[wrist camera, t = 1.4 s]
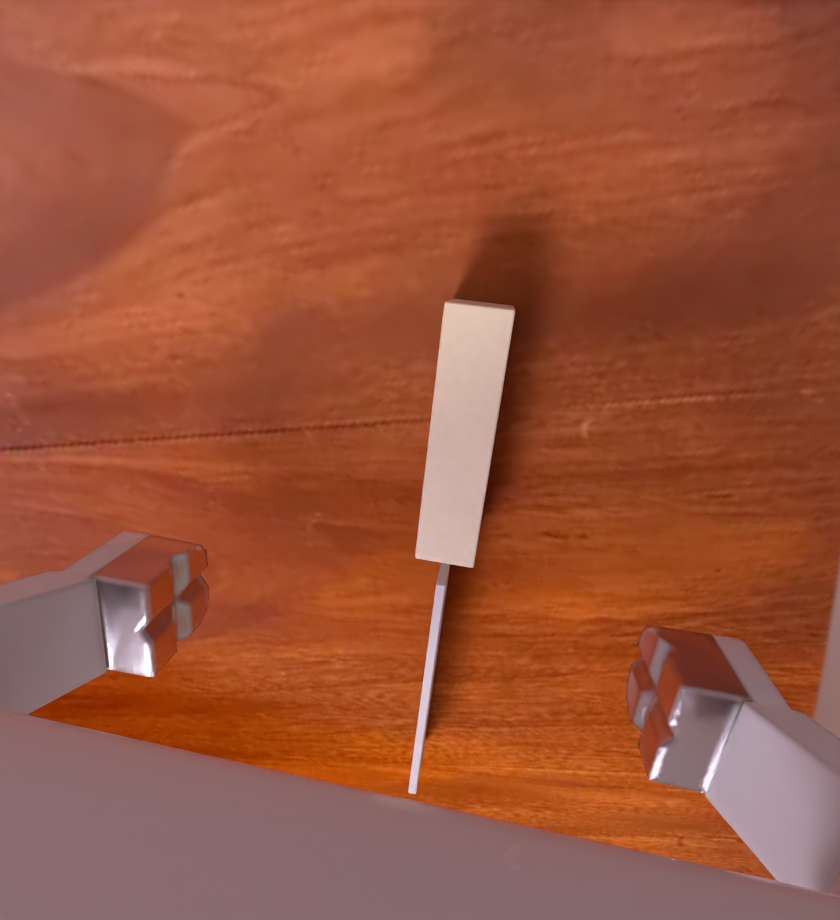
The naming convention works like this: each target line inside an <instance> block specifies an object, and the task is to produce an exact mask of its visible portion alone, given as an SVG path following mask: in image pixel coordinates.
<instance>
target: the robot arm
mask: <svg viewBox="0 0 840 920" xmlns="http://www.w3.org/2000/svg"><path fill="white" fill-rule="evenodd" d="M207 566H208V560H207V550H206V549H205V548H204V547H203V546H202V545H199V544H194V543H189V542H184V541H179V540H174V539H169V538H164V537H159V536H152V535H150V534H144V533H138V532H132V531H129V532H122V533H120V534H118V535H117V536H115V537H114V538H112V539H111V540H109V541H108V542H106V543H105V544H103V545H101V546H100V547H98V548H97V549H95V550H94V551H92V552H91V553H89V554H87V555H86V556H84V557H83V558H81V559H80V560H78V561H77V562H75V563H74V564H72V565H70V566H69V567H67V568H66V569H64V570H63V571H61V572H56V571H49V572H45V573H41V574H38V575H34V576H30V577H26V578H22V579H18V580H14V581H10V582H7V583H3V584H0V920H840V738H838V737H837V736H835V735H834V734H833V733H831V732H830V731H828V730H827V729H826V728H824V727H823V726H821V725H820V724H818V723H817V722H816V721H814V720H813V719H811V718H810V717H808V716H807V715H805V714H804V713H803V712H799V711H794V710H791V709H790V707H789V706H788V704H787V703H786V701H785V700H784V699H783V697H782V696H781V694H780V693H779V691H778V690H777V688H776V687H775V686H774V684H773V683H772V681H771V680H770V678H769V677H768V675H767V674H766V673H765V671H764V670H763V668H762V667H761V665H760V664H759V662H758V661H757V659H756V658H755V657H754V655H753V654H752V652H751V651H750V649H749V648H748V646H747V645H746V644H745V642H743V641H741V640H740V639H738V638H734V637H727V636H720V635H713V634H703V633H697V632H691V631H684V630H678V629H671V628H665V627H658V626H652V625H646V626H645V627H644V629H643V630H642V632H641V635H640V638H639V641H638V646H639V649H640V652H641V654H642V657H641V658H640V659H638V660H637V661H636V662H634V663H633V664H631V667H630V671H629V675H628V679H627V689H626V701H627V709H628V712H629V716H630V720H631V722H632V723H633V724H634V725H635V726H636V727H637V728H638V729H639V730H640V731H641V735H640V738H639V741H638V746H639V750H640V753H641V756H642V759H643V763H644V766H645V769H646V772H647V776H648V779H649V780H651V781H655V782H660V783H664V784H668V785H672V786H677V787H681V788H685V789H689V790H694V791H698V792H702V793H706V795H705V796H706V798H707V799H708V800H709V801H710V802H711V803H712V805H713V806H714V807H715V808H716V809H717V810H718V812H719V813H720V814H721V815H722V816H723V818H724V819H725V820H726V821H727V822H728V823H729V825H730V826H731V827H732V828H733V829H734V830H735V832H736V833H737V834H738V835H739V836H740V837H741V839H742V840H743V841H744V842H745V843H746V845H747V846H748V847H749V848H750V849H751V850H752V852H753V853H754V854H755V855H756V856H757V857H758V859H759V860H760V861H761V862H762V863H763V865H764V866H765V867H766V868H767V869H768V870H769V872H770V873H771V874H772V875H773V876H774V877H775V879H776V880H777V881H775V880H770V879H766V878H761V877H757V876H752V875H747V874H743V873H738V872H733V871H729V870H724V869H720V868H715V867H710V866H706V865H701V864H696V863H692V862H687V861H683V860H678V859H673V858H669V857H664V856H660V855H655V854H651V853H646V852H642V851H638V850H633V849H629V848H624V847H620V846H615V845H611V844H606V843H602V842H597V841H593V840H588V839H584V838H579V837H575V836H570V835H566V834H561V833H557V832H552V831H548V830H543V829H539V828H535V827H530V826H526V825H521V824H517V823H512V822H508V821H503V820H499V819H494V818H490V817H485V816H481V815H476V814H472V813H467V812H463V811H458V810H454V809H449V808H445V807H440V806H436V805H432V804H427V803H422V802H418V801H413V800H409V799H404V798H400V797H395V796H391V795H386V794H382V793H377V792H372V791H368V790H363V789H359V788H354V787H350V786H345V785H341V784H336V783H332V782H327V781H322V780H318V779H313V778H309V777H304V776H300V775H295V774H291V773H286V772H282V771H277V770H272V769H268V768H263V767H259V766H254V765H250V764H245V763H241V762H236V761H232V760H227V759H222V758H218V757H213V756H209V755H204V754H200V753H195V752H191V751H186V750H182V749H177V748H173V747H168V746H164V745H159V744H155V743H150V742H146V741H141V740H137V739H132V738H128V737H123V736H119V735H114V734H110V733H105V732H101V731H96V730H92V729H87V728H82V727H78V726H73V725H69V724H64V723H60V722H55V721H51V720H46V719H42V718H37V717H33V716H28V715H27V714H28V713H30V712H32V711H34V710H36V709H38V708H40V707H42V706H44V705H45V704H47V703H49V702H51V701H53V700H55V699H57V698H59V697H60V696H62V695H64V694H66V693H68V692H70V691H72V690H74V689H75V688H77V687H79V686H81V685H83V684H85V683H87V682H89V681H91V680H92V679H94V678H96V677H98V676H100V675H102V674H104V673H106V672H107V669H110V670H115V671H121V672H127V673H132V674H138V675H144V676H149V677H155V675H156V674H157V673H158V672H159V671H160V670H161V669H162V668H163V666H164V665H165V664H166V663H167V662H168V661H169V660H170V659H171V657H172V656H173V655H174V654H175V653H176V652H177V643H176V641H179V640H181V639H183V638H185V637H188V636H190V635H192V634H193V632H194V631H195V630H196V629H197V628H198V626H199V625H200V624H201V621H202V619H203V617H204V615H205V613H206V610H207V606H208V600H209V586H208V584H207V583H206V582H205V580H204V579H203V577H202V576H201V574H202V572H203V571H204V570H205V569H206V568H207Z"/></svg>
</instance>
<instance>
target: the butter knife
mask: <svg viewBox="0 0 840 920" xmlns="http://www.w3.org/2000/svg"><path fill="white" fill-rule="evenodd" d="M514 317H515V309H514V307H513V306H512V305H504V304H495V303H487V302H478V301H469V300H461V299H452V300H449V301H446V302H445V303H444V311H443V319H442V328H441V336H440V345H439V354H438V362H437V371H436V379H435V388H434V397H433V405H432V414H431V422H430V431H429V440H428V448H427V457H426V466H425V474H424V483H423V491H422V500H421V509H420V517H419V526H418V534H417V543H416V552H415V558H418V559H424V560H429V561H435V562H441V564H440V569H439V574H438V578H437V583H436V589H435V596H434V604H433V611H432V618H431V626H430V633H429V641H428V648H427V655H426V663H425V670H424V677H423V685H422V692H421V700H420V707H419V714H418V722H417V729H416V737H415V744H414V751H413V759H412V766H411V774H410V781H409V788H408V793H412V794H416V791H417V785H418V779H419V773H420V767H421V762H422V756H423V750H424V743H425V737H426V730H427V723H428V716H429V709H430V702H431V695H432V688H433V681H434V674H435V667H436V660H437V653H438V646H439V639H440V633H441V626H442V619H443V612H444V605H445V598H446V591H447V584H448V577H449V570H450V564H453V565H458V566H464V567H470V568H473V567H474V563H475V557H476V551H477V544H478V538H479V532H480V526H481V520H482V514H483V508H484V501H485V495H486V489H487V483H488V477H489V471H490V465H491V458H492V452H493V446H494V440H495V434H496V428H497V421H498V415H499V409H500V403H501V397H502V391H503V385H504V378H505V372H506V366H507V360H508V354H509V348H510V342H511V335H512V329H513V323H514Z"/></svg>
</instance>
